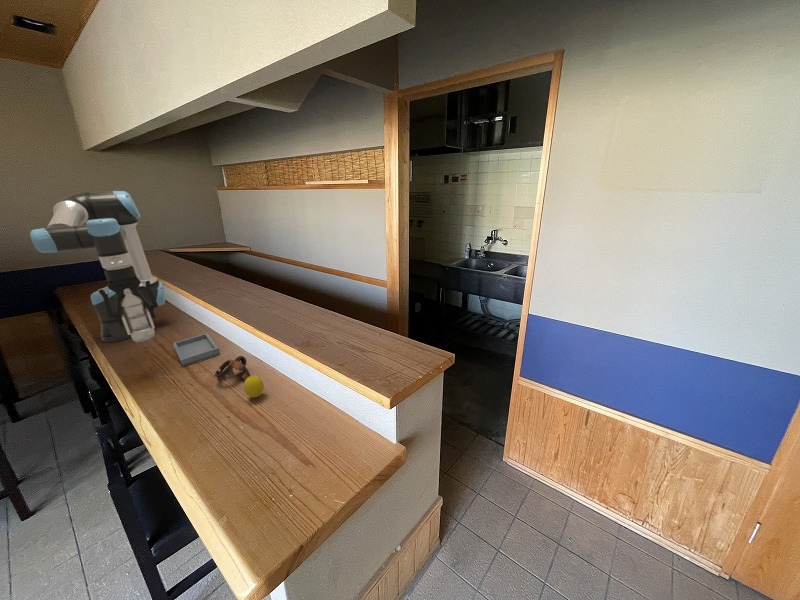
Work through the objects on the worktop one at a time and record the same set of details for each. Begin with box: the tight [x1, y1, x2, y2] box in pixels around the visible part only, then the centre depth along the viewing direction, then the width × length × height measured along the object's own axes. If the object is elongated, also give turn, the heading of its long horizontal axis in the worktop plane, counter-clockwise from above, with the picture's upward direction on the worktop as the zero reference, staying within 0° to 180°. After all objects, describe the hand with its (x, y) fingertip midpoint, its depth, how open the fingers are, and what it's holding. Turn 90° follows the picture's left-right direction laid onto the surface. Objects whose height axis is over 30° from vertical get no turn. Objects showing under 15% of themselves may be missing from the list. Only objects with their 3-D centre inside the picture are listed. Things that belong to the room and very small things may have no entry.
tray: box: [172, 332, 221, 368], centre depth 132 cm, size 20×13×3 cm, turn 42°
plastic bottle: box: [121, 288, 155, 343], centre depth 111 cm, size 6×7×20 cm
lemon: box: [243, 375, 265, 398], centre depth 100 cm, size 6×6×8 cm
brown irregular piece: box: [214, 355, 251, 382], centre depth 113 cm, size 12×9×8 cm
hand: (141, 330), depth 113 cm, fingers closed on plastic bottle, 6 cm apart
